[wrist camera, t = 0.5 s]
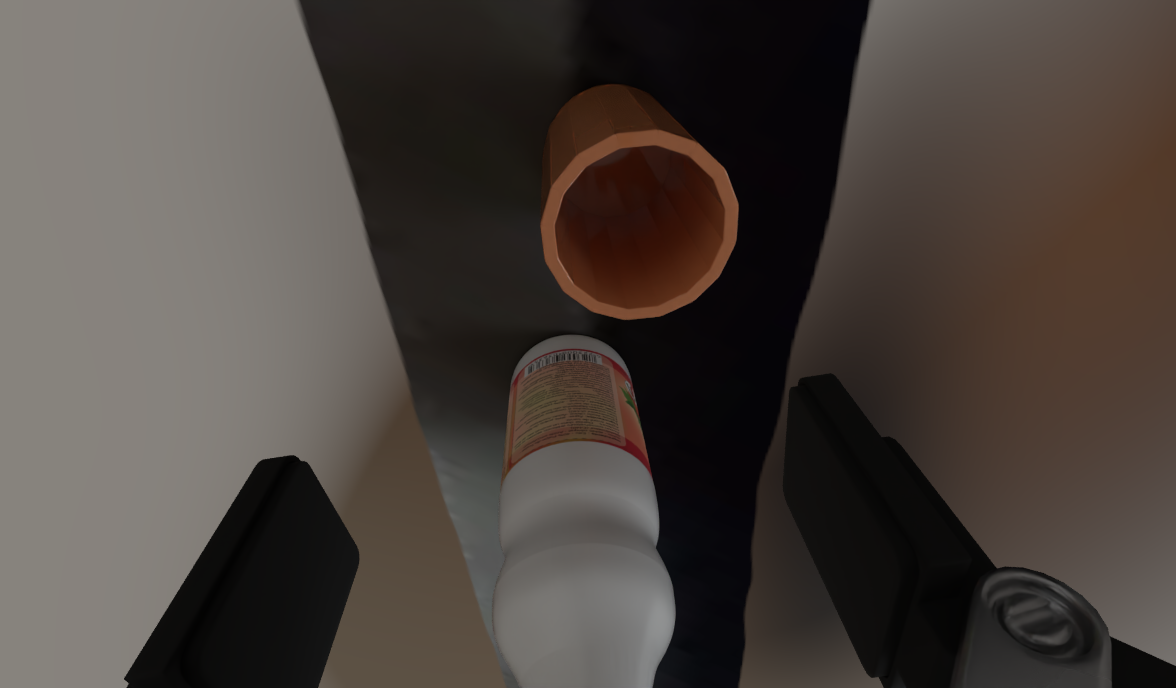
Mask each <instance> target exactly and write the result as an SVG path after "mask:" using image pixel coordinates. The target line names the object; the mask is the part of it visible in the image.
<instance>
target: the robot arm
mask: <svg viewBox="0 0 1176 688" xmlns="http://www.w3.org/2000/svg"><path fill="white" fill-rule="evenodd" d="M784 462H785V463H784V476H783V491H784V496H785V500H786V502H787V505H788V507H789V509H790V511H791V513H792V516H793V518H794V520H795V522H796V524H797V526H798V528H799V530H800V532H801V535H802V537H803V539H804V541H805V543H806V546H807V548H808V550H809V552H810V554H811V556H812V558H813V560H814V563H815V565H816V567H817V569H818V571H819V574H820V575H821V578H822V580H823V582H824V584H825V586H826V589H827V591H828V593H829V595H830V597H831V599H832V601H833V603H834V606H835V608H836V610H837V612H838V614H839V616H840V619H841V621H842V623H843V625H844V627H845V629H846V631H847V633H848V636H849V638H850V640H851V642H852V644H853V646H854V649H855V651H856V653H857V655H858V657H859V659H860V661H861V664H862V665H863V667H864V669H865V671H866V673H867V674H868V675H869V676H870V677H871V678H874V677H879V679H880V681H881V683H882V685H883V687H884V688H1176V666H1174V665H1172V664H1170V663H1167V662H1165V661H1163V660H1161V659H1159V658H1157V657H1154V656H1152V655H1150V654H1148V653H1146V652H1143V651H1141V650H1139V649H1137V648H1135V647H1132V646H1130V645H1128V644H1126V643H1123V642H1121V641H1119V640H1117V639H1114V638H1112V637H1110V636H1109V632H1108V627H1107V626H1106V624H1105V623H1104V621H1103V620H1102V618H1101V616H1100V615H1099V613H1098V611H1097V610H1096V609H1095V608H1094V607H1093V606H1092V605H1091V604H1090V603H1089V602H1088V601H1087V600H1086V599H1085V598H1084V597H1083V596H1082V595H1081V594H1079V593H1078V592H1076V591H1075V590H1073V589H1072V588H1070V587H1069V586H1067V585H1066V584H1065V583H1063V582H1061V581H1059V580H1057V579H1055V578H1053V577H1051V576H1048V575H1046V574H1044V573H1041V572H1038V571H1034V570H1030V569H1026V568H1019V567H1002V568H996V567H995V566H994V564H993V563H992V562H991V560H990V559H989V558H988V557H987V555H986V554H985V553H984V551H983V550H982V549H981V548H980V546H979V545H978V544H977V543H976V541H975V540H974V539H973V537H972V536H971V535H970V533H969V532H968V531H967V530H966V528H965V527H964V526H963V524H962V523H961V522H960V521H959V519H958V518H957V517H956V516H955V514H954V513H953V512H952V510H951V509H950V508H949V506H948V505H947V504H946V503H945V501H944V500H943V499H942V498H941V496H940V495H939V494H938V492H937V491H936V490H935V488H934V487H933V486H932V485H931V483H930V482H929V481H928V480H927V478H926V477H925V476H924V474H923V473H922V472H921V470H920V469H919V468H918V467H917V466H916V464H915V463H914V462H913V460H912V459H911V458H910V456H909V455H908V454H907V453H906V451H905V450H904V449H903V447H902V446H901V445H900V444H899V443H898V442H897V441H896V440H895V439H893V438H891V437H881V436H880V435H879V433H878V432H877V431H876V429H875V428H874V427H873V425H872V424H871V423H870V421H869V420H868V419H867V417H866V416H865V415H864V414H863V412H862V411H861V409H860V408H859V407H858V406H857V404H856V403H855V402H854V400H853V399H852V397H851V396H850V395H849V393H848V392H847V391H846V389H845V388H844V387H843V385H842V384H841V383H840V381H839V380H838V379H837V378H836V376H835V375H833V374H831V373H830V374H824V375H817V376H811V377H804V378H801V379H800V380H799V382H798V386H796V387H791V389H790V391H789V403H788V418H787V432H786V447H785V461H784ZM358 565H359V551H358V548H357V546H356V544H355V542H354V540H353V539H352V537H351V535H350V534H349V532H348V530H347V528H346V527H345V525H344V523H343V522H342V520H341V518H340V516H339V515H338V513H337V511H336V510H335V508H334V506H333V505H332V503H331V501H330V499H329V498H328V496H327V494H326V493H325V491H324V489H323V487H322V486H321V484H320V482H319V481H318V479H317V477H316V475H315V474H314V472H313V470H312V469H311V467H310V465H309V464H308V463H307V462H305V461H300V460H299V458H298V457H296V456H294V455H290V456H283V457H276V458H270V459H264V460H261V461H260V462H259V463H258V464H257V465H256V467H255V468H254V469H253V471H252V473H251V474H250V476H249V477H248V479H247V481H246V482H245V484H244V486H243V487H242V489H241V490H240V492H239V494H238V495H237V497H236V499H235V500H234V502H233V503H232V505H231V507H230V508H229V510H228V512H227V513H226V515H225V516H224V518H223V520H222V521H221V523H220V524H219V526H218V528H217V529H216V531H215V532H214V534H213V536H212V537H211V539H210V541H209V542H208V544H207V545H206V547H205V549H204V551H203V552H202V553H201V555H200V557H199V559H198V560H197V562H196V563H195V565H194V566H193V568H192V570H191V571H190V573H189V574H188V576H187V578H186V579H185V581H184V583H183V584H182V586H181V587H180V589H179V591H178V592H177V594H176V595H175V597H174V599H173V600H172V602H171V604H170V605H169V607H168V609H167V610H166V612H165V613H164V615H163V617H162V618H161V620H160V621H159V623H158V625H157V626H156V628H155V629H154V631H153V633H152V634H151V636H150V637H149V639H148V641H147V642H146V644H145V646H144V647H143V649H142V651H141V652H140V654H139V655H138V657H137V659H136V660H135V662H134V664H133V665H132V667H131V668H130V670H129V671H128V673H127V675H126V676H125V678H124V680H126V681H127V682H128V683H129V684H128V686H127V688H318V686H319V683H320V680H321V677H322V674H323V671H324V668H325V665H326V662H327V659H328V656H329V653H330V650H331V647H332V644H333V641H334V638H335V635H336V632H337V629H338V626H339V623H340V620H341V617H342V614H343V611H344V608H345V605H346V602H347V599H348V596H349V593H350V590H351V587H352V584H353V581H354V578H355V575H356V572H357V569H358Z"/></svg>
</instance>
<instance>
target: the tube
mask: <svg viewBox="0 0 1176 688" xmlns="http://www.w3.org/2000/svg"><path fill="white" fill-rule="evenodd" d="M738 208H739V206H738V201H737V199H736V196H735V193H734V190H733V188H732V185H731V182H730V180H729V177H728V174H727V172H726V170H725V168H724V167H723V166H722V165H721V164H720V163H719V162H718V161H717V160H716V159H715V158H714V157H713V156H712V155H711V154H710V153H709V152H708V151H707V150H706V149H705V148H704V147H703V146H702V145H701V144H700V143H699V142H698V141H697V140H696V139H695V138H694V137H693V136H692V135H691V134H690V133H689V132H688V131H687V130H686V129H685V128H684V127H683V126H682V125H681V124H680V123H679V122H678V121H677V120H676V119H675V118H674V117H673V116H672V115H671V114H670V113H669V112H668V111H667V110H666V109H665V108H664V107H663V106H662V105H661V104H660V103H659V102H658V101H657V100H656V99H654V98H653V97H652V96H651V95H650V94H649V93H646V92H644V91H642V90H639V89H637V88H635V87H631V86H627V85H622V84H605V85H599V86H596V87H592V88H589V89H587V90H585V91H583V92H581V93H579V94H578V95H576V96H575V97H573V98H572V99H571V100H570V101H568V102H567V103H566V104H565V105H564V106H563V107H562V109H561V110H560V111H559V112H558V114H557V115H556V117H555V118H554V120H553V122H552V123H551V126H550V127H549V131H548V134H547V137H546V141H545V146H544V150H543V163H542V191H541V219H540V228H541V236H542V243H543V250H544V258H545V261H546V264H547V265H548V267H549V269H550V270H551V272H552V274H553V275H554V277H555V278H556V280H557V282H558V283H559V285H560V287H561V288H562V290H563V291H564V292H565V293H566V294H568V295H569V296H571V297H572V298H573V299H575V300H576V301H578V302H579V303H580V304H582V305H583V306H585V307H586V308H587V309H589V310H590V311H592V312H595V313H599V314H603V315H607V316H611V317H615V318H619V319H623V320H625V319H626V320H630V319H640V318H650V317H659V316H660V315H661V316H663V315H665V314H667V313H669V312H671V311H673V310H675V309H678V308H680V307H682V306H684V305H686V304H688V303H690V302H692V301H694V300H695V299H696V298H697V297H699V296H700V295H701V294H702V293H703V292H704V291H705V290H706V289H707V288H708V287H709V286H710V285H711V284H712V283H713V282H714V281H715V280H716V279H717V278H718V277H719V276H720V274H721V272H722V270H723V268H724V266H725V264H726V262H727V260H728V258H729V256H730V254H731V252H732V250H733V248H734V245H735V243H736V238H737V223H738Z"/></svg>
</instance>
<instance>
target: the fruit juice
mask: <svg viewBox="0 0 1176 688" xmlns="http://www.w3.org/2000/svg"><path fill="white" fill-rule="evenodd" d="M498 529H499V539H500V544H501V548H502V551H503V554H504V556H505V561H504V563H503V566H502V568H501V571H500V573H499V576H498V579H497V582H496V585H495V589H494V594H493V603H492V623H493V631H494V636H495V639H496V643H497V645H498V648H499V650H500V652H501V654H502V656H503V658H504V659H505V661H506V663H507V664H508V666H509V668H510V669H511V671H512V672H513V674H514V676H515V678H516V680H517V682H518V684H519V686H520V688H652V687H653V681H654V676H655V672H656V669H657V667H658V665H659V663H660V661H661V659H662V657H663V656H664V654H665V652H666V650H667V647H668V645H669V643H670V640H671V637H672V634H673V630H674V624H675V601H674V593H673V586H672V582H671V579H670V576H669V574H668V571H667V569H666V567H665V565H664V563H663V561H662V559H661V557H660V555H659V554H658V552H657V550H656V548H655V547H656V544H657V540H658V535H659V514H658V505H657V498H656V492H655V487H654V483H653V479H652V475H651V471H650V466H649V461H648V457H647V452H646V447H645V442H644V438H643V433H642V428H641V423H640V419H639V414H638V409H637V405H636V400H635V395H634V391H633V386H632V381H631V377H630V374H629V371H628V369H627V367H626V365H625V363H624V361H623V359H622V358H621V357H620V356H619V354H618V353H617V352H616V351H615V350H614V349H613V348H611V347H610V346H609V345H607V344H605V343H604V342H602V341H600V340H597V339H595V338H592V337H588V336H583V335H561V336H556V337H552V338H549V339H547V340H544V341H542V342H540V343H538V344H537V345H535V346H534V347H532V348H531V349H530V350H529V351H528V352H527V353H526V354H525V355H524V356H523V357H522V358H521V360H520V361H519V363H518V364H517V366H516V368H515V371H514V374H513V377H512V380H511V386H510V396H509V406H508V417H507V427H506V438H505V448H504V459H503V469H502V480H501V489H500V496H499V512H498Z"/></svg>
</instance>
